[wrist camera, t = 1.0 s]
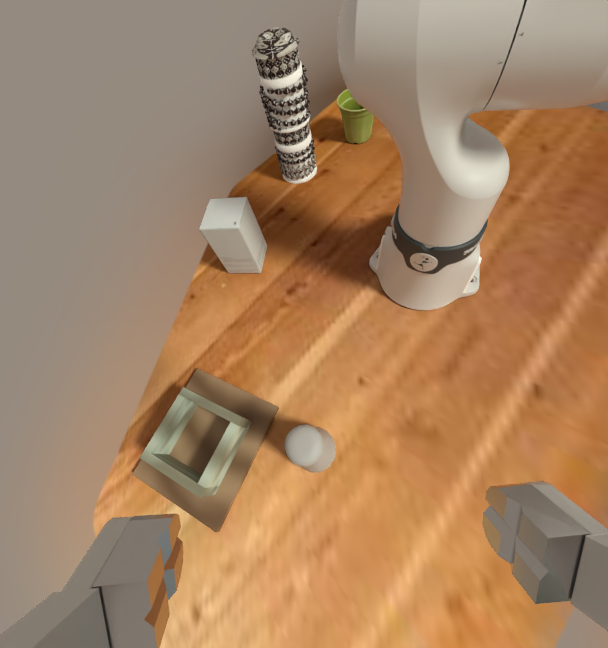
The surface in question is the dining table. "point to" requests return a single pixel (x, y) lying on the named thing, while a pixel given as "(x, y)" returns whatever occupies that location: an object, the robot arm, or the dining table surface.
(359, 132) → the plant pot
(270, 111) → the decorative candle
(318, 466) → the salt shaker
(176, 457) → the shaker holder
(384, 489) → the dining table surface
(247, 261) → the supplement box
